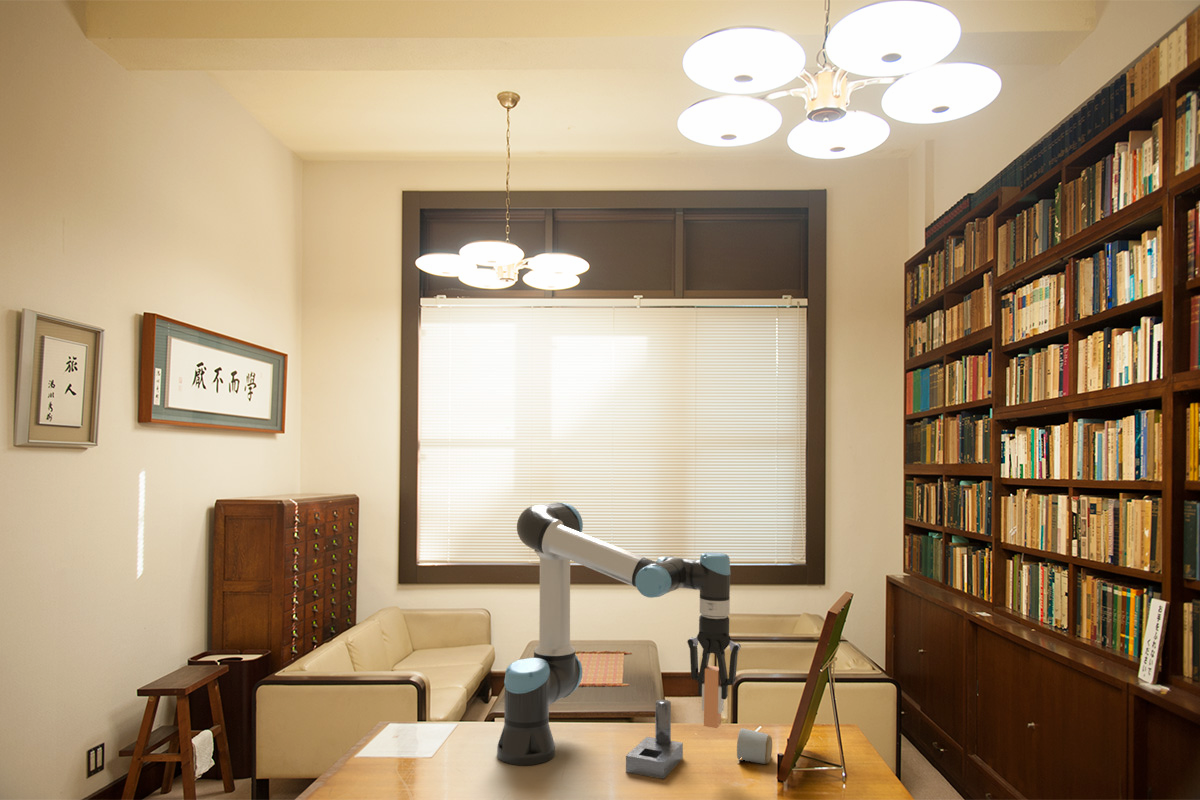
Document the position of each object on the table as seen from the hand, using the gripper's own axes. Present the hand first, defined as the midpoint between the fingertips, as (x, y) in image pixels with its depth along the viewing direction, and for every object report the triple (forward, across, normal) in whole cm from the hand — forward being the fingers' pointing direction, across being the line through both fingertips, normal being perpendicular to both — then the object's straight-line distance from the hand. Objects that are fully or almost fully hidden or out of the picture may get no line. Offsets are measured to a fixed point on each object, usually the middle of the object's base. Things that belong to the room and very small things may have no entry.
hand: (712, 710), depth 198 cm
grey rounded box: (+15, +8, +13) cm, 22 cm away
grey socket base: (+15, -14, -2) cm, 21 cm away
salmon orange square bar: (+4, 0, 0) cm, 4 cm away
